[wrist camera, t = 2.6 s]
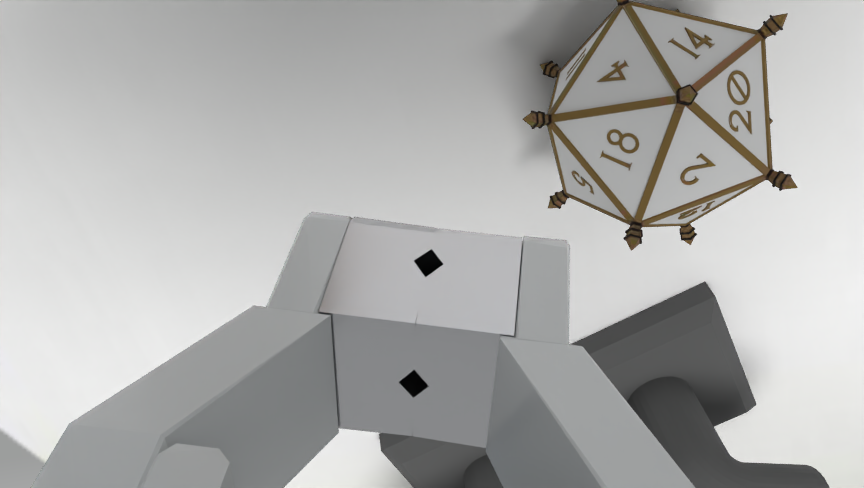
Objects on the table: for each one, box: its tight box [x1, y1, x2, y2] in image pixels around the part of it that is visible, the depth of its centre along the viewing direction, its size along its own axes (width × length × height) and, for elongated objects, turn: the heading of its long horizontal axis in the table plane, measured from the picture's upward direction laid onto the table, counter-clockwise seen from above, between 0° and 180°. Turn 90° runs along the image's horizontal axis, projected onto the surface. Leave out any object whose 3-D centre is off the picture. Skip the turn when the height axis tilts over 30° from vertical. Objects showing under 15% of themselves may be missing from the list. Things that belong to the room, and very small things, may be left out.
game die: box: [523, 0, 797, 251], centre depth 27 cm, size 9×8×10 cm
